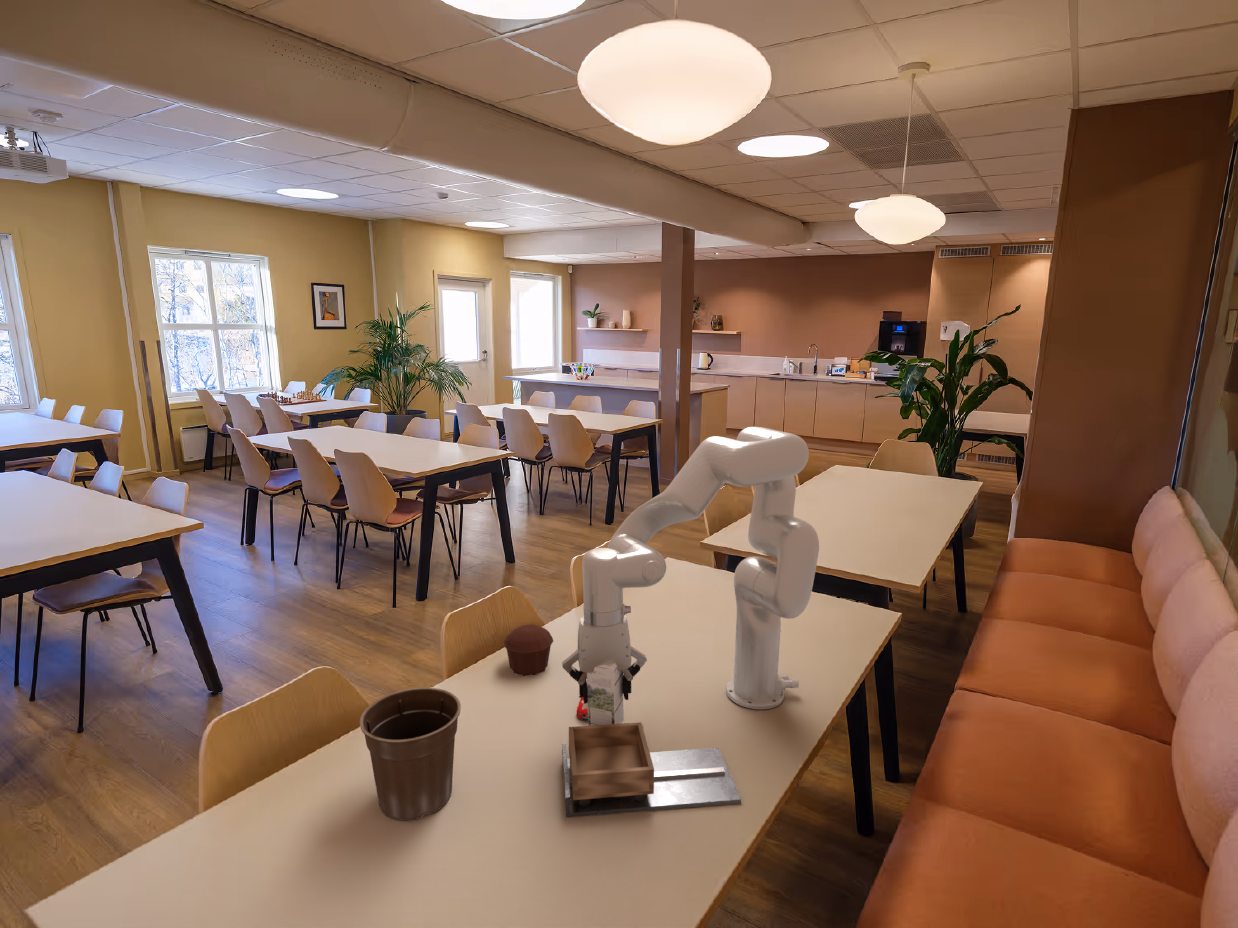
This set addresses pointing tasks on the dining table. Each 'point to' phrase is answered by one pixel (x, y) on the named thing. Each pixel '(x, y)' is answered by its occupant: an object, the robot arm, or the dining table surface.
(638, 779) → the open wooden crate
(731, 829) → the dining table surface
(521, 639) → the muffin
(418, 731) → the plant pot
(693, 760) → the track
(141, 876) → the dining table surface
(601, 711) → the syrup box
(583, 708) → the race car
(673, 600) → the dining table surface
